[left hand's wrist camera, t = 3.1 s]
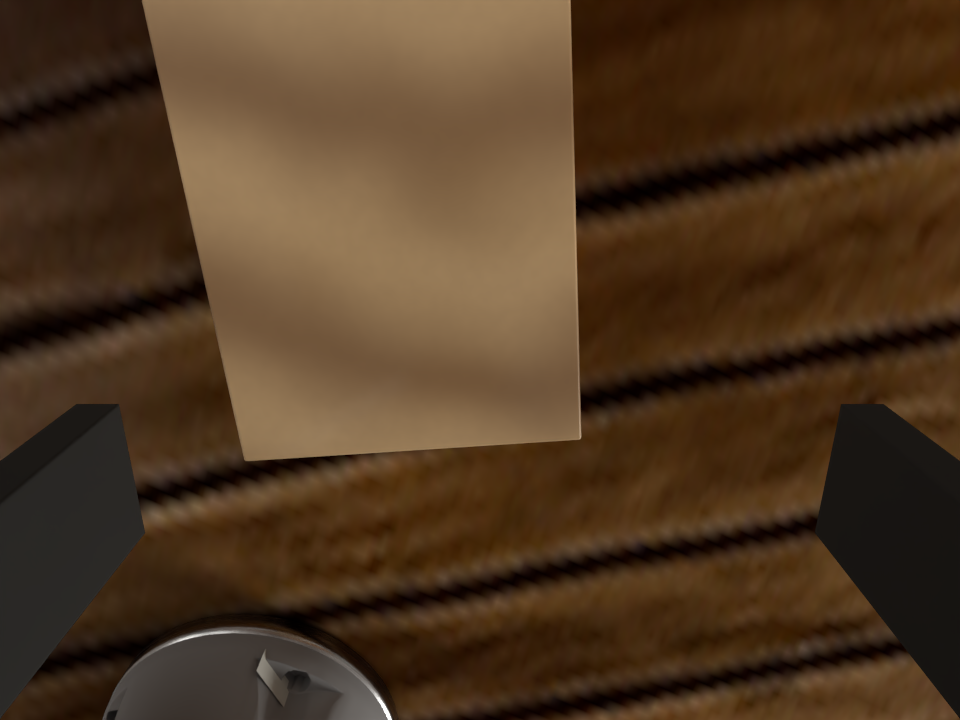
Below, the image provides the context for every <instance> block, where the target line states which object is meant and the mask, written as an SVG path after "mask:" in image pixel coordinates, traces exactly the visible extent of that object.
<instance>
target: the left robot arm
mask: <svg viewBox="0 0 960 720" xmlns="http://www.w3.org/2000/svg"><path fill="white" fill-rule="evenodd" d="M144 533H145V530H144V525H143V520H142V515H141V511H140V506H139V501H138V496H137V491H136V486H135V481H134V476H133V472H132V467H131V462H130V457H129V452H128V447H127V442H126V437H125V432H124V428H123V423H122V418H121V413H120V408H119V404H76V405H75V406H73V407H72V408H71V409H69V410H68V411H67V412H65V413H64V414H63V415H61V416H60V417H59V418H57V419H56V420H55V421H53V422H52V423H51V424H49V425H48V426H47V427H45V428H44V429H43V430H41V431H40V432H39V433H37V434H36V435H35V436H33V437H32V438H31V439H29V440H28V441H27V442H25V443H24V444H23V445H21V446H20V447H19V448H17V449H16V450H15V451H13V452H12V453H10V454H9V455H8V456H6V457H5V458H4V459H2V460H1V461H0V718H1V717H2V715H3V714H4V713H5V712H6V710H7V709H8V708H9V706H10V705H11V704H12V703H13V701H14V700H15V699H16V697H17V696H18V695H19V694H20V692H21V691H22V690H23V688H24V687H25V686H26V685H27V683H28V682H29V681H30V680H31V678H32V677H33V676H34V674H35V673H36V672H37V671H38V669H39V668H40V667H41V665H42V664H43V663H44V662H45V660H46V659H47V658H48V656H49V655H50V654H51V653H52V651H53V650H54V649H55V647H56V646H57V645H58V644H59V642H60V641H61V640H62V638H63V637H64V636H65V635H66V633H67V632H68V631H69V630H70V628H71V627H72V626H73V624H74V623H75V622H76V621H77V619H78V618H79V617H80V615H81V614H82V613H83V612H84V610H85V609H86V608H87V606H88V605H89V604H90V603H91V601H92V600H93V599H94V597H95V596H96V595H97V594H98V592H99V591H100V590H101V588H102V587H103V586H104V585H105V583H106V582H107V581H108V580H109V578H110V577H111V576H112V574H113V573H114V572H115V571H116V569H117V568H118V567H119V565H120V564H121V563H122V562H123V560H124V559H125V558H126V556H127V555H128V554H129V553H130V551H131V550H132V549H133V547H134V546H135V545H136V544H137V542H138V541H139V540H140V538H141V537H142V536H143V535H144ZM815 533H816V535H817V536H818V537H819V538H820V540H821V541H822V542H823V544H824V545H825V546H826V547H827V549H828V550H829V551H830V553H831V554H832V555H833V556H834V558H835V559H836V560H837V562H838V563H839V564H840V565H841V567H842V568H843V569H844V571H845V572H846V573H847V574H848V576H849V577H850V578H851V580H852V581H853V582H854V583H855V585H856V586H857V587H858V588H859V590H860V591H861V592H862V594H863V595H864V596H865V597H866V599H867V600H868V601H869V603H870V604H871V605H872V606H873V608H874V609H875V610H876V612H877V613H878V614H879V615H880V617H881V618H882V619H883V621H884V622H885V623H886V624H887V626H888V627H889V628H890V630H891V631H892V632H893V633H894V635H895V636H896V637H897V638H898V640H899V641H900V642H901V644H902V645H903V646H904V647H905V649H906V650H907V651H908V653H909V654H910V655H911V656H912V658H913V659H914V660H915V662H916V663H917V664H918V665H919V667H920V668H921V669H922V671H923V672H924V673H925V674H926V676H927V677H928V678H929V680H930V681H931V682H932V683H933V685H934V686H935V687H936V688H937V690H938V691H939V692H940V694H941V695H942V696H943V697H944V699H945V700H946V701H947V703H948V704H949V705H950V706H951V708H952V709H953V710H954V712H955V713H956V714H957V715H958V717H959V718H960V461H959V460H958V459H956V458H955V457H954V456H952V455H951V454H950V453H948V452H947V451H945V450H944V449H943V448H941V447H940V446H939V445H937V444H936V443H935V442H933V441H932V440H931V439H929V438H928V437H927V436H925V435H924V434H923V433H921V432H920V431H919V430H917V429H916V428H915V427H913V426H912V425H911V424H909V423H908V422H907V421H905V420H904V419H903V418H901V417H900V416H899V415H897V414H896V413H895V412H893V411H892V410H891V409H889V408H888V407H887V406H885V405H884V404H841V408H840V413H839V418H838V423H837V428H836V432H835V437H834V442H833V447H832V452H831V457H830V462H829V467H828V472H827V476H826V481H825V486H824V491H823V496H822V501H821V506H820V511H819V515H818V520H817V525H816V530H815ZM102 720H398V716H397V711H396V707H395V705H394V702H393V699H392V697H391V695H390V693H389V691H388V689H387V687H386V685H385V684H384V682H383V681H382V679H381V678H380V676H379V675H378V674H377V673H376V672H375V670H374V669H373V668H372V667H371V666H370V665H369V664H368V663H367V662H366V661H365V660H364V659H363V658H362V657H361V656H360V655H358V654H357V653H356V652H355V651H354V650H352V649H351V648H349V647H348V646H346V645H345V644H343V643H342V642H340V641H339V640H337V639H335V638H333V637H332V636H330V635H328V634H326V633H324V632H321V631H319V630H317V629H315V628H312V627H309V626H307V625H304V624H301V623H297V622H294V621H291V620H287V619H282V618H277V617H271V616H264V615H252V614H230V615H220V616H213V617H208V618H202V619H199V620H195V621H192V622H188V623H186V624H183V625H180V626H178V627H175V628H173V629H171V630H169V631H167V632H165V633H164V634H162V635H161V636H159V637H157V638H156V639H154V640H153V641H152V642H151V643H149V644H148V645H147V646H146V647H145V648H144V649H143V650H142V651H141V652H140V653H139V654H138V655H137V656H136V657H135V659H134V660H133V661H132V663H131V664H130V666H129V667H128V669H127V670H126V672H125V674H124V675H123V677H122V678H121V680H120V682H119V683H118V685H117V687H116V688H115V690H114V692H113V694H112V697H111V699H110V702H109V704H108V706H107V708H106V711H105V714H104V716H103V719H102Z"/></svg>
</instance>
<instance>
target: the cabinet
mask: <svg viewBox="0 0 960 720" xmlns="http://www.w3.org/2000/svg"><path fill="white" fill-rule="evenodd" d="M142 3H143V8H144V12H145V17H146V21H147V26H148V30H149V35H150V39H151V44H152V48H153V53H154V57H155V62H156V66H157V71H158V75H159V80H160V84H161V89H162V93H163V98H164V102H165V107H166V111H167V115H168V120H169V124H170V129H171V133H172V138H173V142H174V147H175V151H176V156H177V160H178V165H179V169H180V174H181V178H182V183H183V187H184V192H185V196H186V201H187V205H188V210H189V214H190V219H191V223H192V228H193V232H194V236H195V241H196V245H197V250H198V254H199V259H200V263H201V268H202V272H203V277H204V281H205V286H206V290H207V295H208V299H209V304H210V308H211V313H212V317H213V322H214V326H215V331H216V335H217V340H218V344H219V349H220V353H221V358H222V362H223V366H224V371H225V375H226V380H227V384H228V389H229V393H230V398H231V402H232V407H233V411H234V416H235V420H236V425H237V429H238V434H239V438H240V443H241V447H242V452H243V456H244V460H245V461H255V460H270V459H285V458H301V457H316V456H332V455H347V454H363V453H378V452H394V451H409V450H425V449H440V448H456V447H471V446H487V445H502V444H518V443H533V442H549V441H564V440H579V439H581V407H580V367H579V326H578V286H577V246H576V205H575V165H574V124H573V84H572V43H571V3H570V0H142Z"/></svg>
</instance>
